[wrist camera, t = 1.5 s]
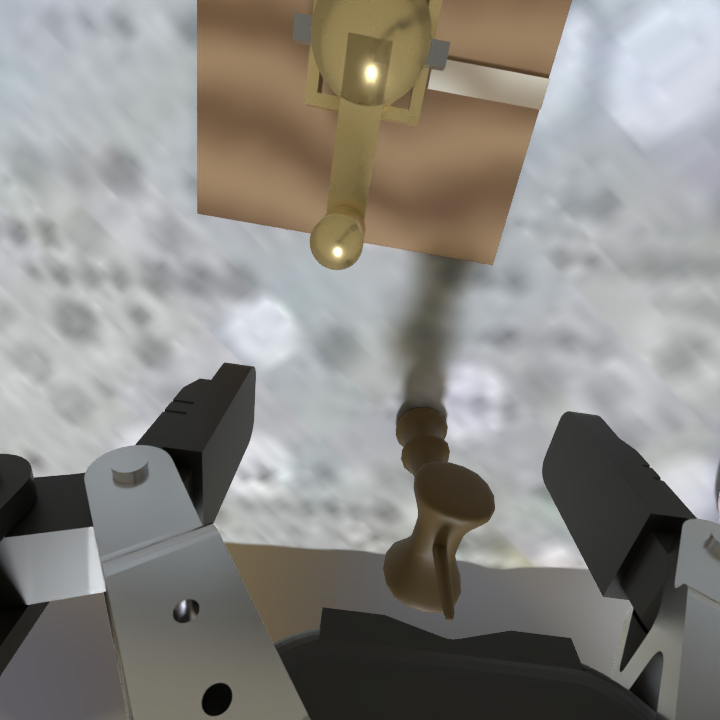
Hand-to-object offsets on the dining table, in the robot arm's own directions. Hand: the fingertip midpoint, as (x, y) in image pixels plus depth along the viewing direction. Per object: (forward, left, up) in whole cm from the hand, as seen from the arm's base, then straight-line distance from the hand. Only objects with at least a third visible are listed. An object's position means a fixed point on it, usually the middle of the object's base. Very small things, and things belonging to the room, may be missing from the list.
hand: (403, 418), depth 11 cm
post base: (-11, -3, -27) cm, 29 cm away
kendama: (+18, +7, -27) cm, 33 cm away
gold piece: (-7, -3, -23) cm, 24 cm away
